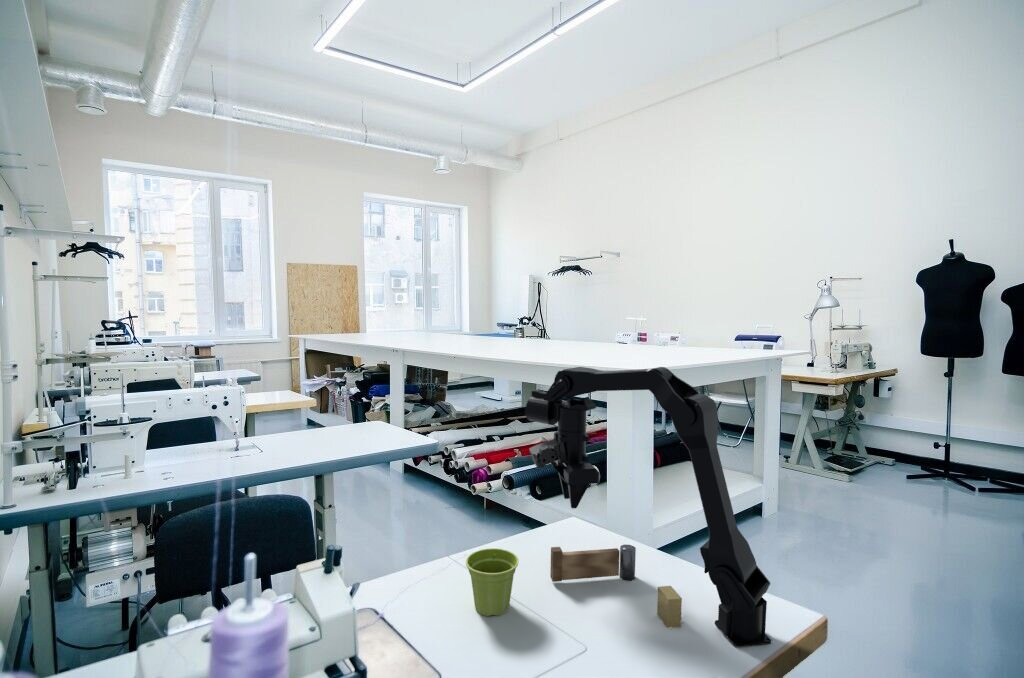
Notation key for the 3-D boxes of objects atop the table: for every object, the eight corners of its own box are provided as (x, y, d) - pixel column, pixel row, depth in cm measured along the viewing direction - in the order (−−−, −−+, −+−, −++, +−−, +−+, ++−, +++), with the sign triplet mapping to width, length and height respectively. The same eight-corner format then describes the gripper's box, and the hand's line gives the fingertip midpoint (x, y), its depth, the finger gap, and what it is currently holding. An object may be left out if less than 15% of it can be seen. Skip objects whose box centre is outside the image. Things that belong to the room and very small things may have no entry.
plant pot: (454, 609, 94) (454, 562, 93) (488, 587, 101) (488, 543, 101) (495, 630, 88) (496, 579, 87) (528, 604, 96) (529, 558, 95)
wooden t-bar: (615, 571, 106) (616, 542, 105) (619, 576, 104) (620, 546, 104) (550, 577, 104) (550, 547, 103) (552, 581, 102) (553, 551, 101)
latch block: (669, 612, 94) (670, 585, 93) (680, 626, 90) (681, 598, 89) (656, 614, 93) (657, 586, 93) (667, 628, 89) (668, 599, 89)
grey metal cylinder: (631, 572, 107) (632, 544, 107) (637, 580, 104) (638, 551, 104) (617, 573, 107) (618, 545, 106) (622, 581, 104) (623, 552, 103)
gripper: (524, 419, 116) (523, 489, 117) (544, 442, 98) (542, 524, 99) (573, 418, 118) (571, 486, 119) (601, 440, 100) (599, 521, 101)
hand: (570, 503), depth 109 cm, fingers open, 5 cm apart
